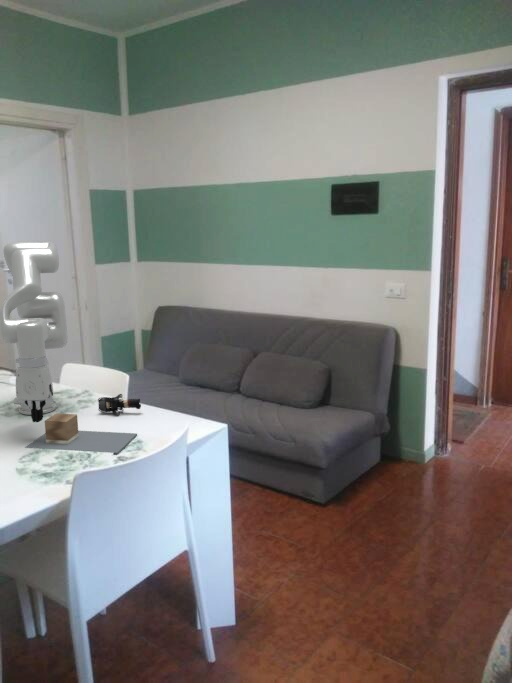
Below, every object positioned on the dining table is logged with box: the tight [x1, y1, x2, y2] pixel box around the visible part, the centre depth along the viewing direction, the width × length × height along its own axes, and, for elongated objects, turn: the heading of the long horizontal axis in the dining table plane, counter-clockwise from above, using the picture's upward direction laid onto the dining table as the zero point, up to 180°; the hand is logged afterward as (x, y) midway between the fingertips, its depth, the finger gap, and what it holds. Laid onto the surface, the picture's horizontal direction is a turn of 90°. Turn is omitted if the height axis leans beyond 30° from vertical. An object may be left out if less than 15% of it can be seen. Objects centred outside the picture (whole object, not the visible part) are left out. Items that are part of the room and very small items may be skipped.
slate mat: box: [24, 430, 138, 456], centre depth 176 cm, size 29×16×1 cm, turn 81°
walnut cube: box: [44, 412, 79, 444], centre depth 176 cm, size 7×7×7 cm
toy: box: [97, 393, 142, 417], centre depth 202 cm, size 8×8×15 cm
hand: (37, 420), depth 176 cm, fingers closed
